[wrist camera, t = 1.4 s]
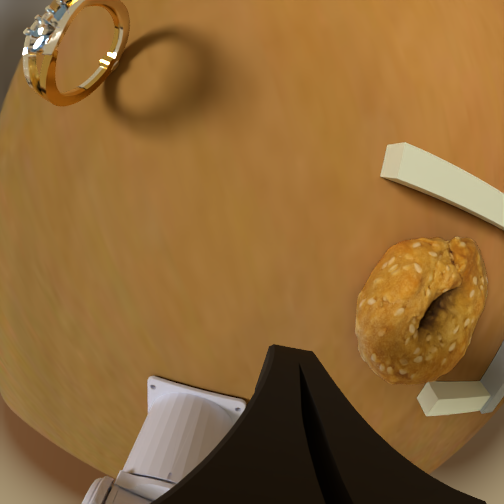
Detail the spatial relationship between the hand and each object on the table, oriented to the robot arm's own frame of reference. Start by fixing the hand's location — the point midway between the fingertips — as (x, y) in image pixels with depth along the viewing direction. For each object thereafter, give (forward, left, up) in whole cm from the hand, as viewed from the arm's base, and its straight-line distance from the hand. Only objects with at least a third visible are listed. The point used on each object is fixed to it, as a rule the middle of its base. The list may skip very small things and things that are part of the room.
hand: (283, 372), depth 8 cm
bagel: (0, -10, -10) cm, 14 cm away
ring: (+11, +14, -10) cm, 20 cm away
